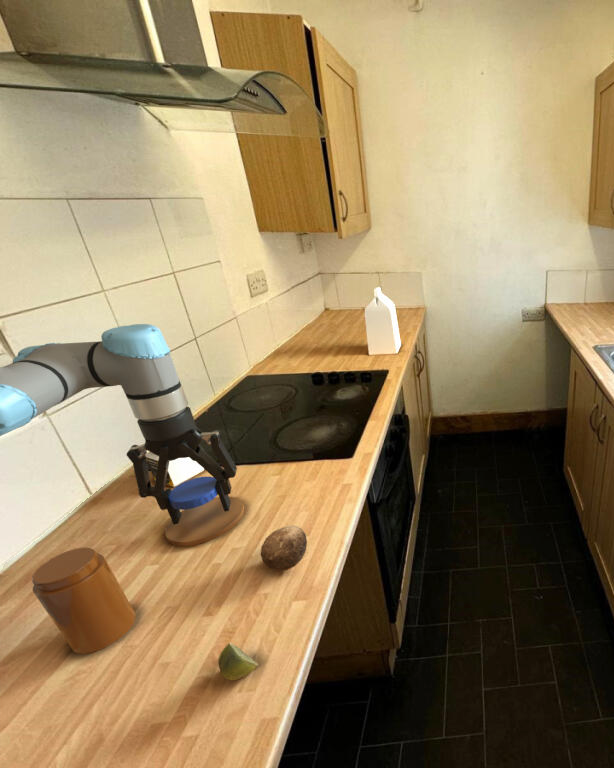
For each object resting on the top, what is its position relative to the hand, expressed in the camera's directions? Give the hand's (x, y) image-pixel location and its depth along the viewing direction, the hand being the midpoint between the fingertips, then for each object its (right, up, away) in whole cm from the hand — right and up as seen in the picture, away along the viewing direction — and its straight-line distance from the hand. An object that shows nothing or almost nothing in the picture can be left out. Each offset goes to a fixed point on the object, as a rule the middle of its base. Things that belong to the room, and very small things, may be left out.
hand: (203, 513), depth 83 cm
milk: (+7, +40, +96) cm, 104 cm away
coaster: (0, -2, +1) cm, 2 cm away
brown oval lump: (+21, -6, -8) cm, 24 cm away
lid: (0, +5, -2) cm, 6 cm away
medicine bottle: (-17, +4, +15) cm, 23 cm away
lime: (+25, -14, -26) cm, 38 cm away
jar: (0, -12, -20) cm, 23 cm away
